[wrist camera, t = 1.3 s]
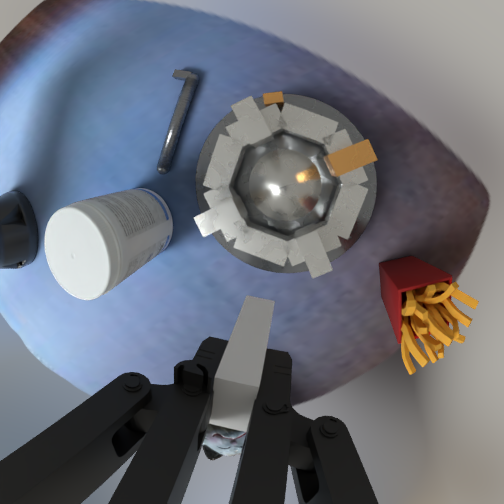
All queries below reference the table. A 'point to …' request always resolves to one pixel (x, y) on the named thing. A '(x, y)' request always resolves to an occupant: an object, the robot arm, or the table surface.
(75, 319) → the table surface
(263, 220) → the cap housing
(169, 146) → the pin spanner
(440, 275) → the french fries
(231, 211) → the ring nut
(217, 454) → the lucky cat figurine
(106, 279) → the supplement tub
